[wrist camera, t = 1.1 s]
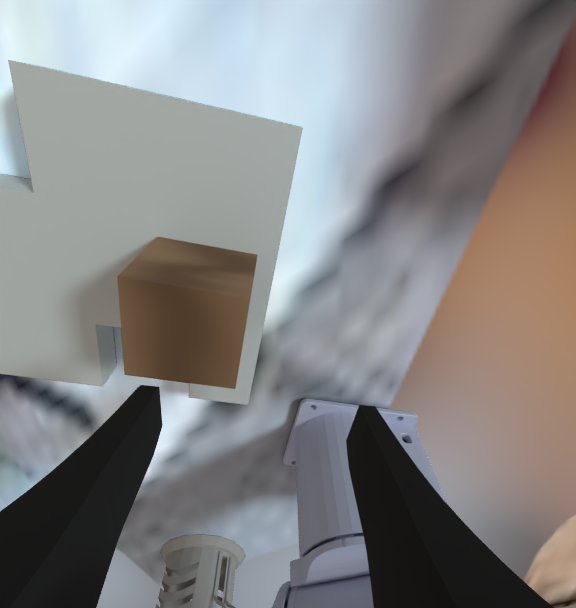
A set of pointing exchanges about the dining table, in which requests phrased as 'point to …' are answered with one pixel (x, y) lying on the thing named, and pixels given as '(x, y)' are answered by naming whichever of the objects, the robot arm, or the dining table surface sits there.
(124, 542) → the dining table surface
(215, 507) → the dining table surface
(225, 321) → the walnut block
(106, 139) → the plate
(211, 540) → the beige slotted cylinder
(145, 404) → the robot arm
